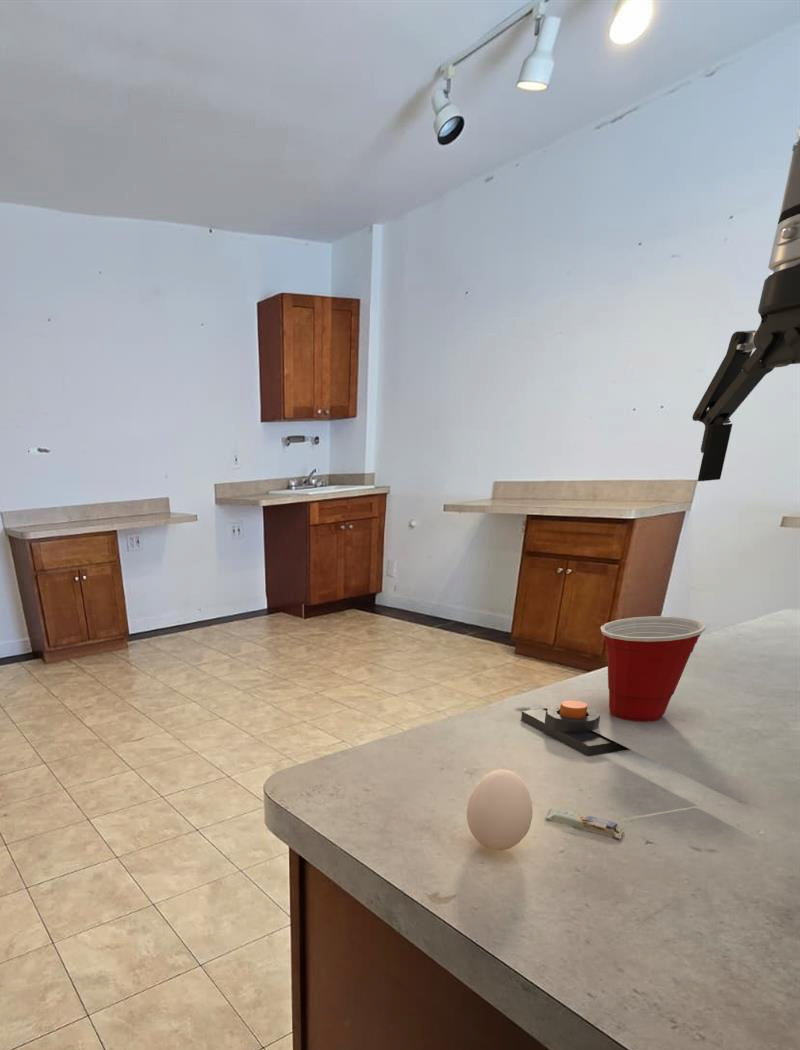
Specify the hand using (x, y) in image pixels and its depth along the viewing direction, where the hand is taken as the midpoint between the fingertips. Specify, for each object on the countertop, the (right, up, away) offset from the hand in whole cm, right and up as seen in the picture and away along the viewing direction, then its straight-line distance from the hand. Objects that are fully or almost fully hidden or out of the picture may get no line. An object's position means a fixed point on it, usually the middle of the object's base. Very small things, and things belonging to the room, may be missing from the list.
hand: (757, 480), depth 78 cm
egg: (-40, -43, -18) cm, 61 cm away
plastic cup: (-12, -29, +5) cm, 31 cm away
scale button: (-21, -29, +3) cm, 36 cm away
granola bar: (-30, -41, -16) cm, 53 cm away
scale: (-14, -30, +5) cm, 34 cm away
